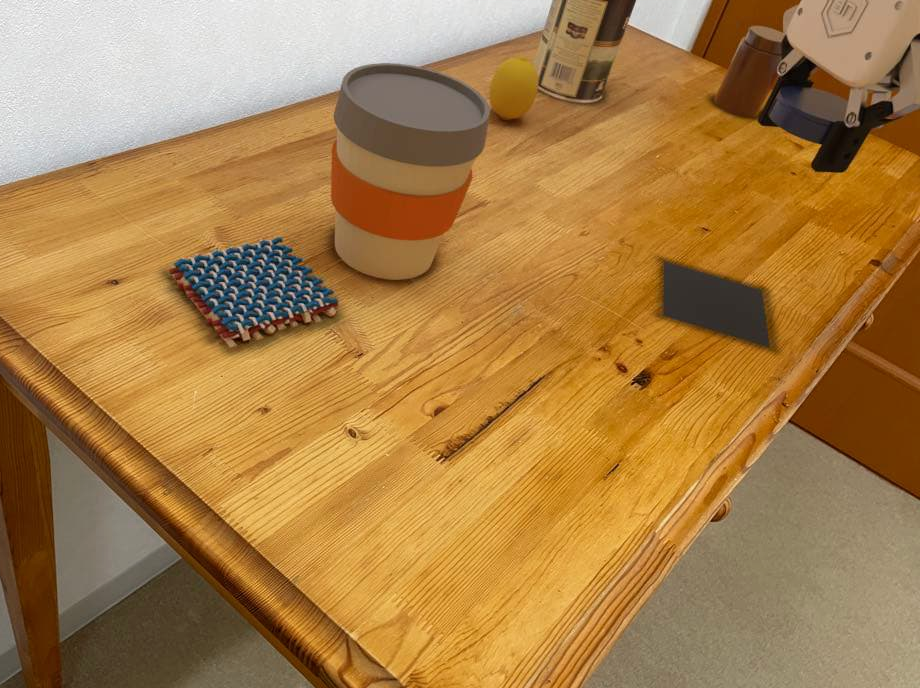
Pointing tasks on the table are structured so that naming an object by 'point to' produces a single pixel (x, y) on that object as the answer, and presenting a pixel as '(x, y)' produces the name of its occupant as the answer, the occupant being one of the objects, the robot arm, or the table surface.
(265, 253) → the woven mat
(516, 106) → the lemon
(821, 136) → the lid
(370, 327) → the table surface
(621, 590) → the table surface
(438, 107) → the reusable coffee cup
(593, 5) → the coffee can
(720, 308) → the coaster
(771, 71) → the jar
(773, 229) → the table surface
